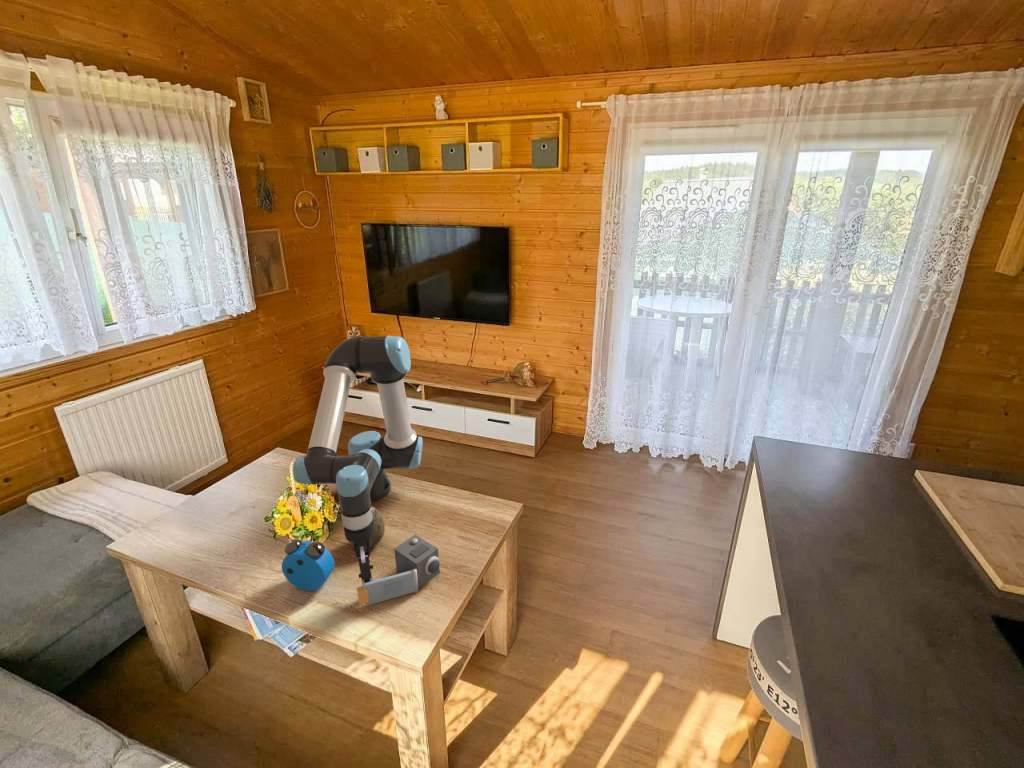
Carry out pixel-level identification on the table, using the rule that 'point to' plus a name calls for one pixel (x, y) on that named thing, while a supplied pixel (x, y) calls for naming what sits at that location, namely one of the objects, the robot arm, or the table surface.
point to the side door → (388, 587)
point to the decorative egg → (377, 528)
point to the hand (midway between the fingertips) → (368, 590)
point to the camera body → (418, 559)
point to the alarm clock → (307, 564)
